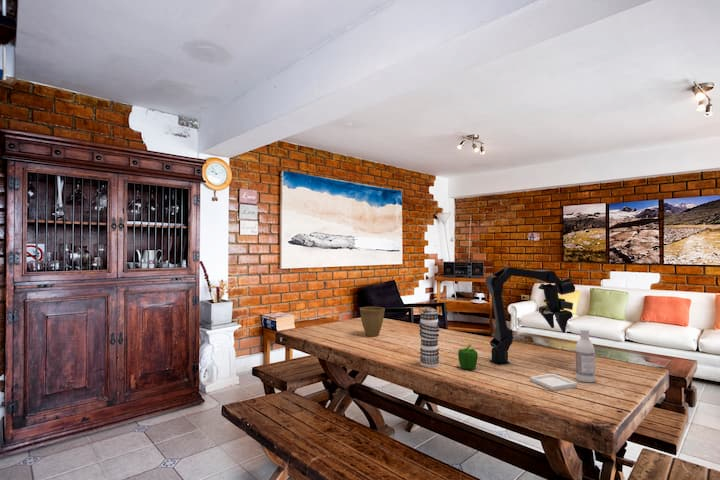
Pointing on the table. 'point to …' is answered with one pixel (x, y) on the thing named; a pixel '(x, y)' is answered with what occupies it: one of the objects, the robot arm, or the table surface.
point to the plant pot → (372, 320)
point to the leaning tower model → (429, 337)
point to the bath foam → (585, 358)
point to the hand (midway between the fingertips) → (558, 330)
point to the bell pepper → (467, 358)
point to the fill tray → (553, 382)
